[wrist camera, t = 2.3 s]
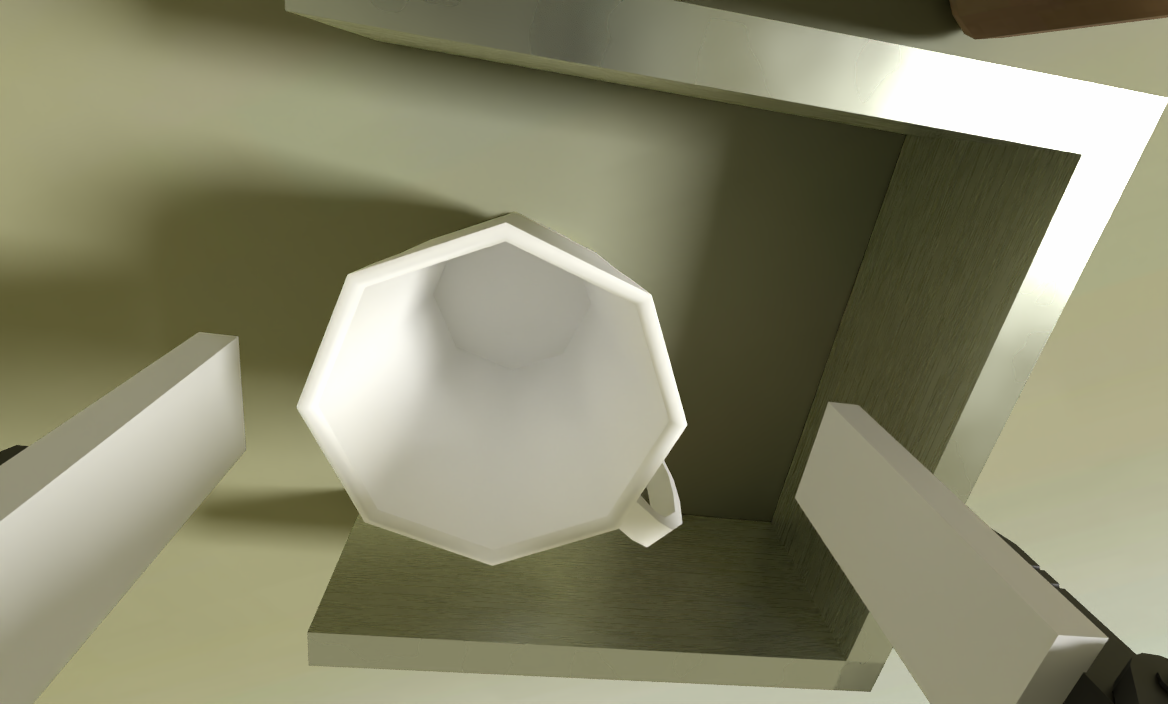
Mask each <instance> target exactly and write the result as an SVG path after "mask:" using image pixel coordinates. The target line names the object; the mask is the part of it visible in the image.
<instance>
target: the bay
mask: <svg viewBox="0 0 1168 704" xmlns="http://www.w3.org/2000/svg"><path fill="white" fill-rule="evenodd" d="M285 11H288V12H291V13H294V14H297V15H300V16H303V17H306V18H309V19H312V20H315V21H318V22H321V23H324V24H327V25H330V26H334V27H337V28H340V29H343V30H346V31H349V32H352V33H355V34H358V35H361V36H364V37H367V38H370V39H373V40H376V41H380V42H386V43H391V44H397V45H403V46H408V47H414V48H420V49H425V50H431V51H437V52H442V53H448V54H454V55H459V56H465V57H471V58H476V59H482V60H487V61H493V62H499V63H504V64H510V65H516V66H521V67H527V68H533V69H538V70H544V71H550V72H555V73H561V74H567V75H572V76H578V77H583V78H589V79H595V80H600V81H606V82H612V83H617V84H623V85H629V86H634V87H640V88H646V89H651V90H657V91H663V92H668V93H674V94H680V95H685V96H691V97H696V98H702V99H708V100H713V101H719V102H725V103H730V104H736V105H742V106H747V107H753V108H759V109H764V110H770V111H776V112H781V113H787V114H792V115H798V116H804V117H809V118H815V119H821V120H826V121H832V122H838V123H843V124H849V125H855V126H860V127H866V128H872V129H877V130H883V131H888V132H894V133H900V134H905V135H906V138H905V141H904V144H903V147H902V150H901V152H900V155H899V158H898V161H897V164H896V167H895V170H894V172H893V175H892V178H891V181H890V184H889V187H888V190H887V192H886V195H885V198H884V201H883V204H882V207H881V210H880V212H879V215H878V218H877V221H876V224H875V227H874V230H873V232H872V235H871V238H870V241H869V244H868V247H867V250H866V252H865V255H864V258H863V261H862V264H861V267H860V270H859V272H858V275H857V278H856V281H855V284H854V287H853V289H852V292H851V295H850V298H849V301H848V304H847V307H846V309H845V312H844V315H843V318H842V321H841V324H840V327H839V329H838V332H837V335H836V338H835V341H834V344H833V347H832V349H831V352H830V355H829V358H828V361H827V364H826V367H825V369H824V372H823V375H822V378H821V381H820V384H819V387H818V389H817V392H816V395H815V398H814V401H813V404H812V407H811V409H810V412H809V415H808V418H807V421H806V424H805V426H804V429H803V432H802V435H801V438H800V441H799V444H798V446H797V449H796V452H795V455H794V458H793V461H792V464H791V466H790V469H789V472H788V475H787V478H786V481H785V484H784V486H783V489H782V492H781V495H780V498H779V501H778V504H777V506H776V509H775V512H774V515H773V518H772V521H771V522H764V521H752V520H740V519H728V518H716V517H704V516H692V515H682V524H681V525H680V526H678V527H677V528H675V529H674V530H672V531H671V532H669V533H668V534H666V535H665V536H663V537H662V538H660V539H659V540H658V541H656V542H655V543H653V544H652V545H650V546H649V547H645V546H643V545H641V544H639V543H637V542H635V541H633V540H632V539H631V538H629V537H628V536H627V535H626V534H625V533H623V532H622V531H621V530H620V529H619V528H618V529H616V530H613V531H610V532H606V533H603V534H599V535H596V536H592V537H589V538H586V539H582V540H579V541H575V542H572V543H569V544H565V545H562V546H558V547H555V548H552V549H548V550H545V551H541V552H538V553H534V554H531V555H528V556H524V557H521V558H517V559H514V560H511V561H507V562H504V563H500V564H497V565H493V566H491V565H489V564H486V563H483V562H480V561H477V560H474V559H471V558H468V557H465V556H462V555H459V554H456V553H453V552H450V551H447V550H444V549H442V548H439V547H436V546H433V545H430V544H427V543H424V542H421V541H418V540H415V539H412V538H409V537H406V536H403V535H400V534H398V533H395V532H392V531H389V530H386V529H383V528H380V527H377V526H374V525H371V524H368V523H365V522H364V520H363V519H362V517H361V515H360V514H358V516H357V519H356V521H355V523H354V526H353V528H352V530H351V533H350V535H349V537H348V540H347V542H346V544H345V547H344V549H343V551H342V554H341V556H340V558H339V561H338V563H337V565H336V567H335V570H334V572H333V574H332V577H331V579H330V581H329V584H328V586H327V588H326V591H325V593H324V595H323V598H322V600H321V602H320V605H319V607H318V609H317V612H316V614H315V616H314V619H313V621H312V623H311V625H310V628H309V630H308V660H309V666H331V667H352V668H374V669H395V670H416V671H438V672H459V673H481V674H502V675H524V676H545V677H566V678H588V679H609V680H631V681H652V682H674V683H695V684H716V685H738V686H759V687H781V688H802V689H824V690H845V691H866V692H871V690H872V688H873V686H874V684H875V682H876V680H877V678H878V676H879V674H880V672H881V670H882V668H883V666H884V664H885V662H886V660H887V658H888V656H889V654H890V652H891V650H892V648H893V646H892V645H891V643H890V642H889V640H888V639H887V637H886V636H885V634H884V633H883V631H882V630H881V628H880V627H879V625H878V623H877V622H876V620H875V619H874V617H873V616H872V614H871V613H870V611H869V610H868V608H867V607H866V605H865V604H864V602H863V601H862V599H861V598H860V596H859V595H858V593H857V592H856V590H855V589H854V587H853V586H852V584H851V583H850V581H849V579H848V578H847V576H846V575H845V573H844V572H843V570H842V569H841V567H840V566H839V564H838V563H837V561H836V560H835V558H834V557H833V555H832V554H831V552H830V551H829V549H828V548H827V546H826V545H825V543H824V542H823V540H822V538H821V537H820V535H819V534H818V532H817V531H816V529H815V528H814V526H813V525H812V523H811V522H810V520H809V519H808V517H807V516H806V514H805V513H804V511H803V510H802V508H801V507H800V505H799V504H798V502H797V501H796V499H795V496H796V493H797V490H798V487H799V484H800V482H801V479H802V476H803V473H804V470H805V467H806V464H807V462H808V459H809V456H810V453H811V450H812V447H813V444H814V442H815V439H816V436H817V433H818V430H819V427H820V425H821V422H822V419H823V416H824V413H825V410H826V407H827V405H828V402H835V403H844V404H853V405H859V406H860V407H861V408H862V409H863V410H864V411H865V412H866V413H867V414H869V415H870V416H871V417H872V418H873V419H874V420H875V421H876V422H877V423H878V424H879V425H880V426H881V427H883V428H884V429H885V430H886V431H887V432H888V433H889V434H890V435H891V436H892V437H893V438H894V439H895V440H897V441H898V442H899V443H900V444H901V445H902V446H903V447H904V448H905V449H906V450H907V451H908V452H909V453H910V454H912V455H913V456H914V457H915V458H916V459H917V460H918V461H919V462H920V463H921V464H922V465H923V466H924V467H926V468H927V469H928V470H929V471H930V472H931V473H932V474H933V475H934V476H935V477H936V478H937V479H938V480H940V481H941V482H942V483H943V484H944V485H945V486H946V487H947V488H948V489H949V490H950V491H951V492H952V493H953V494H955V495H956V496H957V497H958V498H959V499H960V500H961V501H962V502H963V503H964V504H965V503H966V501H967V499H968V497H969V495H970V493H971V491H972V489H973V487H974V485H975V483H976V481H977V479H978V477H979V475H980V473H981V471H982V469H983V467H984V465H985V463H986V461H987V459H988V457H989V455H990V453H991V451H992V449H993V447H994V445H995V443H996V441H997V439H998V437H999V435H1000V433H1001V431H1002V429H1003V427H1004V426H1005V424H1006V422H1007V420H1008V418H1009V416H1010V414H1011V412H1012V410H1013V408H1014V406H1015V404H1016V402H1017V400H1018V398H1019V396H1020V394H1021V392H1022V390H1023V388H1024V386H1025V384H1026V382H1027V380H1028V378H1029V376H1030V374H1031V372H1032V370H1033V368H1034V366H1035V364H1036V362H1037V360H1038V358H1039V356H1040V354H1041V352H1042V350H1043V348H1044V346H1045V344H1046V342H1047V340H1048V338H1049V336H1050V334H1051V332H1052V330H1053V328H1054V326H1055V324H1056V322H1057V320H1058V318H1059V316H1060V314H1061V312H1062V310H1063V308H1064V306H1065V304H1066V302H1067V300H1068V298H1069V296H1070V294H1071V292H1072V290H1073V288H1074V286H1075V284H1076V282H1077V280H1078V278H1079V276H1080V274H1081V272H1082V270H1083V268H1084V267H1085V265H1086V263H1087V261H1088V259H1089V257H1090V255H1091V253H1092V251H1093V249H1094V247H1095V245H1096V243H1097V241H1098V239H1099V237H1100V235H1101V233H1102V231H1103V229H1104V227H1105V225H1106V223H1107V221H1108V219H1109V217H1110V215H1111V213H1112V211H1113V209H1114V207H1115V205H1116V203H1117V201H1118V199H1119V197H1120V195H1121V193H1122V191H1123V189H1124V187H1125V185H1126V183H1127V181H1128V179H1129V177H1130V175H1131V173H1132V171H1133V169H1134V167H1135V165H1136V163H1137V161H1138V159H1139V157H1140V155H1141V153H1142V151H1143V149H1144V147H1145V145H1146V143H1147V141H1148V139H1149V137H1150V135H1151V133H1152V131H1153V129H1154V127H1155V125H1156V123H1157V121H1158V119H1159V117H1160V115H1161V113H1162V111H1163V109H1164V108H1165V106H1166V104H1167V102H1168V98H1165V97H1160V96H1155V95H1150V94H1145V93H1140V92H1135V91H1130V90H1125V89H1120V88H1115V87H1110V86H1105V85H1100V84H1094V83H1089V82H1084V81H1079V80H1074V79H1069V78H1064V77H1059V76H1054V75H1049V74H1044V73H1039V72H1034V71H1029V70H1024V69H1019V68H1014V67H1008V66H1003V65H998V64H993V63H988V62H983V61H978V60H973V59H968V58H963V57H958V56H953V55H948V54H943V53H938V52H933V51H928V50H922V49H917V48H912V47H907V46H902V45H897V44H892V43H887V42H882V41H877V40H872V39H867V38H862V37H857V36H852V35H847V34H842V33H836V32H831V31H826V30H821V29H816V28H811V27H806V26H801V25H796V24H791V23H786V22H781V21H776V20H771V19H766V18H761V17H756V16H750V15H745V14H740V13H735V12H730V11H725V10H720V9H715V8H710V7H705V6H700V5H695V4H690V3H685V2H680V1H675V0H285Z"/></svg>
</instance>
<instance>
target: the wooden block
mask: <svg viewBox="0 0 1168 704" xmlns="http://www.w3.org/2000/svg"><path fill="white" fill-rule="evenodd" d="M950 5H951V11H952V15H953V16H954V18H955V20H956V21H957V23H958V24H959V26H960V28H961V29H962V31H963V33H964V34H966V35H968V36H970V37H972V38H974V39H988V38H1004V37H1012V36H1020V35H1028V34H1036V33H1044V32H1053V31H1061V30H1069V29H1077V28H1085V27H1093V26H1101V25H1110V24H1118V23H1126V22H1134V21H1142V20H1150V19H1158V18H1167V17H1168V0H950Z"/></svg>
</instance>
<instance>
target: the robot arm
mask: <svg viewBox="0 0 1168 704" xmlns="http://www.w3.org/2000/svg"><path fill="white" fill-rule="evenodd" d="M245 451H246V440H245V425H244V411H243V396H242V382H241V368H240V353H239V339H238V336H231V335H222V334H213V333H204V332H198V333H196V334H195V335H193V336H192V337H190V338H189V339H187V340H186V341H185V342H183V343H182V344H180V345H179V346H177V347H176V348H174V349H173V350H171V351H170V352H168V353H167V354H165V355H164V356H162V357H161V358H159V359H158V360H156V361H155V362H153V363H152V364H150V365H149V366H147V367H146V368H144V369H143V370H141V371H140V372H138V373H137V374H136V375H134V376H133V377H131V378H130V379H128V380H127V381H125V382H124V383H122V384H121V385H119V386H118V387H116V388H115V389H113V390H112V391H110V392H109V393H107V394H106V395H104V396H103V397H101V398H100V399H98V400H97V401H95V402H94V403H92V404H91V405H89V406H88V407H87V408H85V409H84V410H82V411H81V412H79V413H78V414H76V415H75V416H73V417H72V418H70V419H69V420H67V421H66V422H64V423H63V424H61V425H60V426H58V427H57V428H55V429H54V430H52V431H51V432H49V433H48V434H46V435H45V436H43V437H42V438H41V439H39V440H38V441H36V442H35V443H33V444H32V445H30V446H20V445H16V446H13V447H11V448H8V449H6V450H3V451H1V452H0V704H33V703H34V702H35V701H36V700H37V698H38V697H39V696H40V695H41V694H42V692H43V691H44V690H45V689H46V688H47V687H48V685H49V684H50V683H51V682H52V681H53V679H54V678H55V677H56V676H57V675H58V673H59V672H60V671H61V670H62V669H63V667H64V666H65V665H66V664H67V663H68V661H69V660H70V659H71V658H72V657H73V656H74V654H75V653H76V652H77V651H78V650H79V648H80V647H81V646H82V645H83V644H84V642H85V641H86V640H87V639H88V638H89V636H90V635H91V634H92V633H93V632H94V631H95V629H96V628H97V627H98V626H99V625H100V623H101V622H102V621H103V620H104V619H105V617H106V616H107V615H108V614H109V613H110V611H111V610H112V609H113V608H114V607H115V606H116V604H117V603H118V602H119V601H120V600H121V598H122V597H123V596H124V595H125V594H126V592H127V591H128V590H129V589H130V588H131V586H132V585H133V584H134V583H135V582H136V580H137V579H138V578H139V577H140V576H141V575H142V573H143V572H144V571H145V570H146V569H147V567H148V566H149V565H150V564H151V563H152V561H153V560H154V559H155V558H156V557H157V555H158V554H159V553H160V552H161V551H162V550H163V548H164V547H165V546H166V545H167V544H168V542H169V541H170V540H171V539H172V538H173V536H174V535H175V534H176V533H177V532H178V530H179V529H180V528H181V527H182V526H183V525H184V523H185V522H186V521H187V520H188V519H189V517H190V516H191V515H192V514H193V513H194V511H195V510H196V509H197V508H198V507H199V505H200V504H201V503H202V502H203V501H204V499H205V498H206V497H207V496H208V495H209V494H210V492H211V491H212V490H213V489H214V488H215V486H216V485H217V484H218V483H219V482H220V480H221V479H222V478H223V477H224V476H225V474H226V473H227V472H228V471H229V470H230V469H231V467H232V466H233V465H234V464H235V463H236V461H237V460H238V459H239V458H240V457H241V455H242V454H243V453H244V452H245ZM795 499H796V501H797V502H798V504H799V505H800V507H801V508H802V510H803V511H804V513H805V514H806V516H807V517H808V519H809V520H810V522H811V523H812V525H813V526H814V528H815V529H816V531H817V532H818V534H819V535H820V537H821V538H822V540H823V542H824V543H825V545H826V546H827V548H828V549H829V551H830V552H831V554H832V555H833V557H834V558H835V560H836V561H837V563H838V564H839V566H840V567H841V569H842V570H843V572H844V573H845V575H846V576H847V578H848V579H849V581H850V583H851V584H852V586H853V587H854V589H855V590H856V592H857V593H858V595H859V596H860V598H861V599H862V601H863V602H864V604H865V605H866V607H867V608H868V610H869V611H870V613H871V614H872V616H873V617H874V619H875V620H876V622H877V623H878V625H879V627H880V628H881V630H882V631H883V633H884V634H885V636H886V637H887V639H888V640H889V642H890V643H891V645H892V646H893V648H894V649H895V651H896V652H897V654H898V655H899V657H900V658H901V660H902V661H903V663H904V664H905V666H906V667H907V669H908V671H909V672H910V674H911V675H912V677H913V678H914V680H915V681H916V683H917V684H918V686H919V687H920V689H921V690H922V692H923V693H924V695H925V696H926V698H927V699H928V701H929V702H930V704H1168V659H1167V658H1164V657H1162V656H1159V655H1152V654H1145V653H1141V654H1138V655H1136V654H1135V653H1134V652H1133V651H1132V650H1131V649H1130V648H1129V647H1127V646H1126V645H1125V644H1124V643H1123V642H1122V641H1121V640H1120V639H1119V638H1118V637H1117V636H1115V635H1114V634H1113V633H1112V632H1111V631H1110V630H1109V629H1108V628H1107V627H1106V626H1105V625H1103V624H1102V623H1101V622H1100V621H1099V620H1098V619H1097V618H1096V617H1095V616H1094V615H1093V614H1091V613H1090V612H1089V611H1088V610H1087V609H1086V608H1085V607H1084V606H1083V605H1082V604H1080V603H1079V602H1078V601H1077V600H1076V599H1075V598H1074V597H1073V596H1072V595H1071V594H1070V593H1068V592H1067V591H1066V590H1065V589H1061V588H1060V587H1059V583H1058V582H1056V581H1055V580H1054V579H1053V578H1052V577H1051V576H1050V575H1049V574H1048V573H1047V572H1046V571H1044V570H1040V568H1039V567H1040V566H1039V565H1038V564H1037V563H1036V562H1035V561H1034V560H1032V559H1031V558H1030V557H1029V556H1028V555H1027V554H1026V553H1025V552H1024V551H1023V550H1021V549H1020V548H1019V547H1018V546H1017V545H1016V544H1014V543H1013V542H1011V541H1010V540H1008V539H1007V538H1005V537H1004V536H1002V535H1000V534H999V533H997V532H996V531H994V530H993V529H991V528H990V527H989V526H988V525H987V524H986V523H985V522H984V521H983V520H981V519H980V518H979V517H978V516H977V515H976V514H975V513H974V512H973V511H972V510H971V509H970V508H969V507H967V506H966V505H965V504H964V503H963V502H962V501H961V500H960V499H959V498H958V497H957V496H956V495H955V494H953V493H952V492H951V491H950V490H949V489H948V488H947V487H946V486H945V485H944V484H943V483H942V482H941V481H940V480H938V479H937V478H936V477H935V476H934V475H933V474H932V473H931V472H930V471H929V470H928V469H927V468H926V467H924V466H923V465H922V464H921V463H920V462H919V461H918V460H917V459H916V458H915V457H914V456H913V455H912V454H910V453H909V452H908V451H907V450H906V449H905V448H904V447H903V446H902V445H901V444H900V443H899V442H898V441H897V440H895V439H894V438H893V437H892V436H891V435H890V434H889V433H888V432H887V431H886V430H885V429H884V428H883V427H881V426H880V425H879V424H878V423H877V422H876V421H875V420H874V419H873V418H872V417H871V416H870V415H869V414H867V413H866V412H865V411H864V410H863V409H862V408H861V407H860V406H859V405H853V404H844V403H835V402H828V405H827V407H826V410H825V413H824V416H823V419H822V422H821V425H820V427H819V430H818V433H817V436H816V439H815V442H814V444H813V447H812V450H811V453H810V456H809V459H808V462H807V464H806V467H805V470H804V473H803V476H802V479H801V482H800V484H799V487H798V490H797V493H796V496H795Z"/></svg>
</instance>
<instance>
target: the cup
mask: <svg viewBox="0 0 1168 704" xmlns="http://www.w3.org/2000/svg"><path fill="white" fill-rule="evenodd" d="M296 408H297V409H298V411H299V413H300V414H301V416H302V418H303V419H304V421H305V423H306V424H307V426H308V428H309V429H310V431H311V433H312V434H313V436H314V438H315V440H316V441H317V443H318V445H319V446H320V448H321V450H322V451H323V453H324V455H325V456H326V458H327V460H328V461H329V463H330V465H331V466H332V468H333V470H334V472H335V473H336V475H337V477H338V478H339V480H340V482H341V483H342V485H343V487H344V488H345V490H346V492H347V493H348V495H349V497H350V498H351V500H352V502H353V504H354V505H355V507H356V509H357V510H358V512H359V514H360V515H361V517H362V519H363V520H364V522H365V523H368V524H371V525H374V526H377V527H380V528H383V529H386V530H389V531H392V532H395V533H398V534H400V535H403V536H406V537H409V538H412V539H415V540H418V541H421V542H424V543H427V544H430V545H433V546H436V547H439V548H442V549H444V550H447V551H450V552H453V553H456V554H459V555H462V556H465V557H468V558H471V559H474V560H477V561H480V562H483V563H486V564H489V565H491V566H493V565H497V564H500V563H504V562H507V561H511V560H514V559H517V558H521V557H524V556H528V555H531V554H534V553H538V552H541V551H545V550H548V549H552V548H555V547H558V546H562V545H565V544H569V543H572V542H575V541H579V540H582V539H586V538H589V537H592V536H596V535H599V534H603V533H606V532H610V531H613V530H616V529H618V528H619V529H620V530H621V531H622V532H623V533H625V534H626V535H627V536H628V537H629V538H631V539H632V540H633V541H635V542H637V543H639V544H641V545H643V546H645V547H649V546H650V545H652V544H653V543H655V542H656V541H658V540H659V539H660V538H662V537H663V536H665V535H666V534H668V533H669V532H671V531H672V530H674V529H675V528H677V527H678V526H680V525H681V524H682V515H681V506H680V500H679V497H678V493H677V490H676V486H675V483H674V480H673V478H672V475H671V473H670V471H669V469H668V467H667V465H666V463H665V461H664V459H665V458H666V456H667V455H668V453H669V452H670V450H671V449H672V447H673V446H674V444H675V443H676V441H677V440H678V438H679V437H680V435H681V434H682V432H683V431H684V429H685V428H686V426H687V422H686V418H685V414H684V411H683V407H682V404H681V400H680V396H679V393H678V389H677V385H676V382H675V378H674V374H673V371H672V367H671V363H670V360H669V356H668V353H667V349H666V345H665V342H664V338H663V334H662V331H661V327H660V323H659V320H658V316H657V312H656V309H655V305H654V302H653V298H652V295H651V294H650V293H649V292H647V291H646V290H645V289H643V288H642V287H641V286H640V285H638V284H637V283H636V282H634V281H633V280H632V279H630V278H629V277H627V276H626V275H624V274H623V273H621V272H620V271H618V270H617V269H616V268H614V267H613V266H612V265H611V264H609V263H608V262H607V261H606V260H604V259H603V258H602V257H601V256H599V255H598V254H597V253H596V252H594V251H592V250H590V249H588V248H586V247H584V246H582V245H580V244H578V243H576V242H574V241H572V240H570V239H569V238H567V237H565V236H563V235H561V234H559V233H557V232H555V231H553V230H551V229H549V228H547V227H545V226H543V225H541V224H539V223H537V222H535V221H533V220H531V219H529V218H527V217H526V216H524V215H522V214H520V213H517V212H513V213H510V214H507V215H504V216H501V217H498V218H495V219H492V220H489V221H486V222H483V223H480V224H477V225H474V226H470V227H467V228H464V229H461V230H458V231H455V232H452V233H449V234H446V235H443V236H440V237H437V238H434V239H431V240H428V241H426V242H424V243H422V244H419V245H417V246H415V247H413V248H410V249H408V250H406V251H404V252H402V253H399V254H397V255H394V256H391V257H389V258H386V259H383V260H381V261H378V262H375V263H373V264H371V265H368V266H366V267H364V268H361V269H359V270H357V271H354V272H352V273H350V274H348V275H347V277H346V280H345V282H344V285H343V288H342V290H341V293H340V295H339V298H338V301H337V303H336V306H335V308H334V311H333V313H332V316H331V319H330V321H329V324H328V326H327V329H326V332H325V334H324V337H323V339H322V342H321V345H320V347H319V350H318V352H317V355H316V358H315V360H314V363H313V365H312V368H311V370H310V373H309V376H308V378H307V381H306V383H305V386H304V389H303V391H302V394H301V396H300V399H299V402H298V404H297V407H296ZM645 488H647V491H648V496H649V501H650V505H649V504H648V503H647V502H646V501H645V499H644V498H643V497H642V496H641V494H642V492H643V491H644V489H645Z"/></svg>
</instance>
